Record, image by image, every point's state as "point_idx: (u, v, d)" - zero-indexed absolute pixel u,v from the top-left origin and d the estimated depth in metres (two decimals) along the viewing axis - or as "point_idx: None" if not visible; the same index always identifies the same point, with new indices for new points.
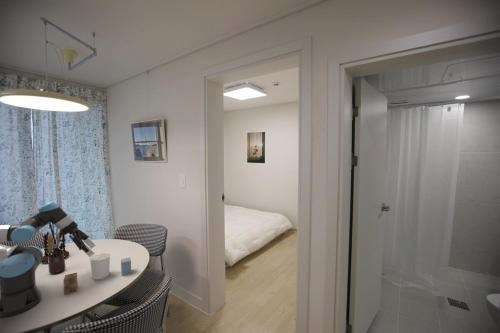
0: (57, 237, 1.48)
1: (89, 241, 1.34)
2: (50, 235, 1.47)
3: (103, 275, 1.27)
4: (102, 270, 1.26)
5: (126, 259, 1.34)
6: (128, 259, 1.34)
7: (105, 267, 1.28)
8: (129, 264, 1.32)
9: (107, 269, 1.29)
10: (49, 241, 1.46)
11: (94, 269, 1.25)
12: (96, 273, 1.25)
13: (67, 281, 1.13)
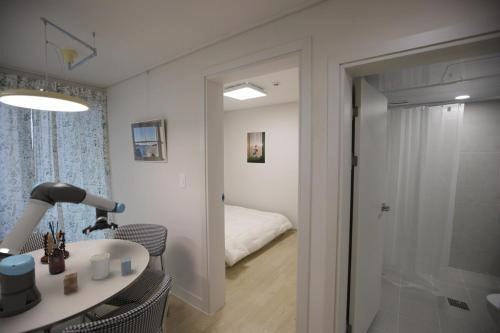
0: (57, 237, 1.48)
1: None
2: (50, 235, 1.47)
3: (103, 275, 1.27)
4: (102, 270, 1.26)
5: (126, 259, 1.34)
6: (128, 259, 1.34)
7: (105, 267, 1.28)
8: (129, 264, 1.32)
9: (107, 269, 1.29)
10: (49, 241, 1.46)
11: (94, 269, 1.25)
12: (96, 273, 1.25)
13: (67, 281, 1.13)
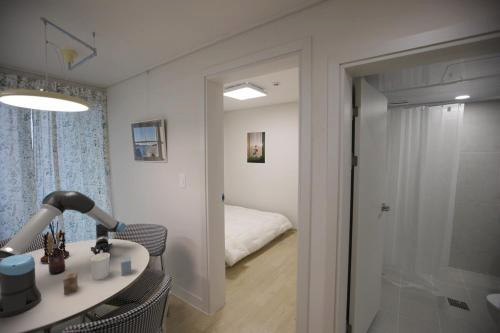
0: (57, 237, 1.48)
1: None
2: (50, 235, 1.47)
3: (103, 275, 1.27)
4: (102, 270, 1.26)
5: (126, 259, 1.34)
6: (128, 259, 1.34)
7: (105, 267, 1.28)
8: (129, 264, 1.32)
9: (107, 269, 1.29)
10: (49, 241, 1.46)
11: (94, 269, 1.25)
12: (96, 273, 1.25)
13: (67, 281, 1.13)
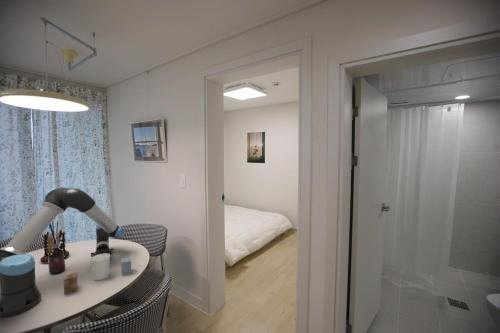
0: (57, 237, 1.48)
1: None
2: (50, 235, 1.47)
3: (103, 276, 1.26)
4: (102, 271, 1.25)
5: (126, 259, 1.34)
6: (128, 259, 1.34)
7: (105, 268, 1.27)
8: (129, 264, 1.32)
9: (107, 270, 1.28)
10: (49, 241, 1.46)
11: (94, 270, 1.24)
12: (96, 274, 1.24)
13: (67, 281, 1.13)
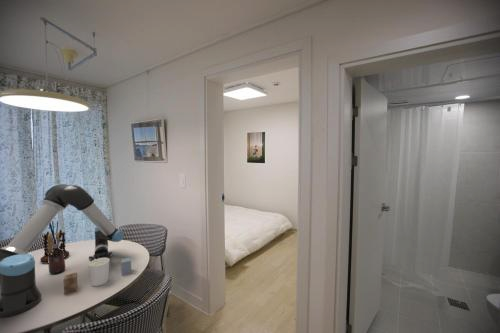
0: (57, 237, 1.48)
1: None
2: (50, 235, 1.47)
3: (103, 281, 1.21)
4: (102, 276, 1.20)
5: (126, 259, 1.34)
6: (128, 259, 1.34)
7: (105, 273, 1.22)
8: (129, 264, 1.32)
9: (107, 275, 1.23)
10: (49, 241, 1.46)
11: (93, 275, 1.18)
12: (95, 279, 1.19)
13: (67, 281, 1.13)
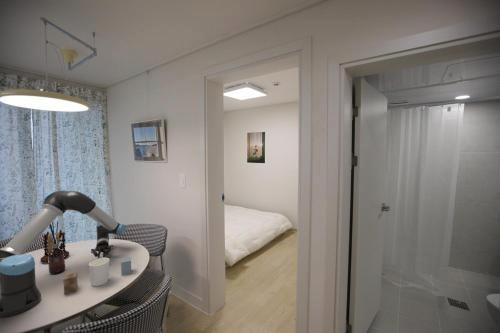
0: (57, 237, 1.48)
1: None
2: (50, 235, 1.47)
3: (103, 281, 1.21)
4: (102, 276, 1.20)
5: (126, 259, 1.34)
6: (128, 259, 1.34)
7: (105, 273, 1.22)
8: (129, 264, 1.32)
9: (107, 275, 1.23)
10: (49, 241, 1.46)
11: (93, 275, 1.19)
12: (95, 279, 1.19)
13: (67, 281, 1.13)
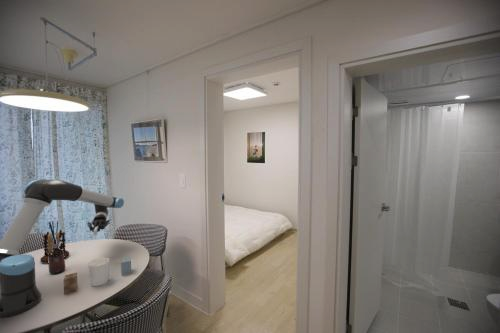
0: (57, 237, 1.48)
1: None
2: (50, 235, 1.47)
3: (103, 281, 1.21)
4: (102, 276, 1.20)
5: (126, 259, 1.34)
6: (128, 259, 1.34)
7: (105, 273, 1.22)
8: (129, 264, 1.32)
9: (107, 275, 1.23)
10: (49, 241, 1.46)
11: (93, 275, 1.19)
12: (95, 279, 1.19)
13: (67, 281, 1.13)
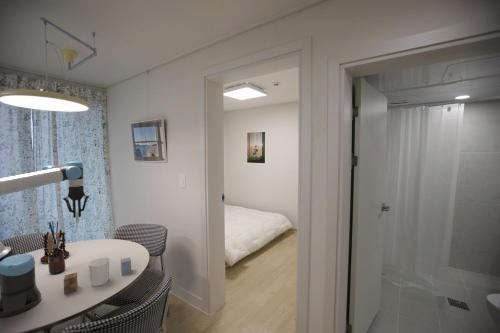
0: (57, 237, 1.48)
1: None
2: (50, 235, 1.47)
3: (103, 281, 1.21)
4: (102, 276, 1.20)
5: (126, 259, 1.34)
6: (128, 259, 1.34)
7: (105, 273, 1.22)
8: (129, 264, 1.32)
9: (107, 275, 1.23)
10: (49, 241, 1.46)
11: (93, 275, 1.19)
12: (95, 279, 1.19)
13: (67, 281, 1.13)
